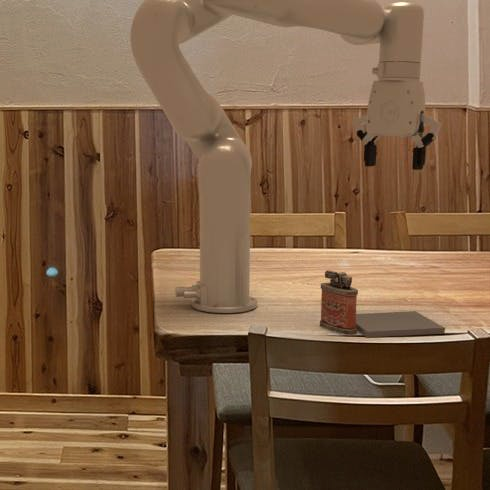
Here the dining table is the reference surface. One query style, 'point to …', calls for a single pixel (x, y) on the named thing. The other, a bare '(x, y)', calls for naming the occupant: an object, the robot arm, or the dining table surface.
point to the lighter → (338, 304)
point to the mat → (396, 324)
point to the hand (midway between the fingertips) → (393, 167)
